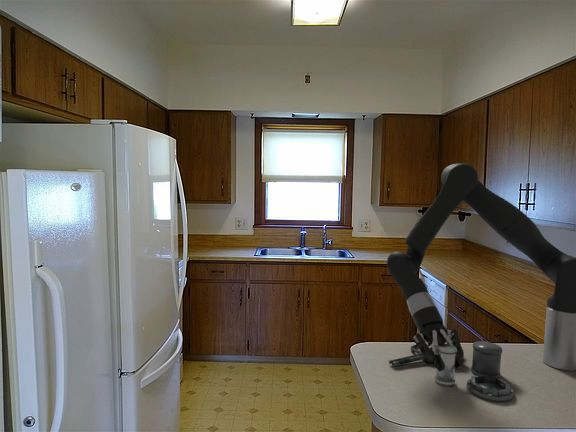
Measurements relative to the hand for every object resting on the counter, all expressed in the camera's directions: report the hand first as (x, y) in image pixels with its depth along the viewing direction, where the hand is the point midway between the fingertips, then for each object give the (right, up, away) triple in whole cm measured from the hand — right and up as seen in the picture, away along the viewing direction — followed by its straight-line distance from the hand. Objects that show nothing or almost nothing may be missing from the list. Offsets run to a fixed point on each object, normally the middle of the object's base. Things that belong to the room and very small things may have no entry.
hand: (450, 368), depth 110 cm
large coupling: (+13, -4, +8) cm, 16 cm away
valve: (-2, -4, +18) cm, 18 cm away
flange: (+9, -5, -2) cm, 11 cm away
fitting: (-1, -4, +2) cm, 5 cm away
